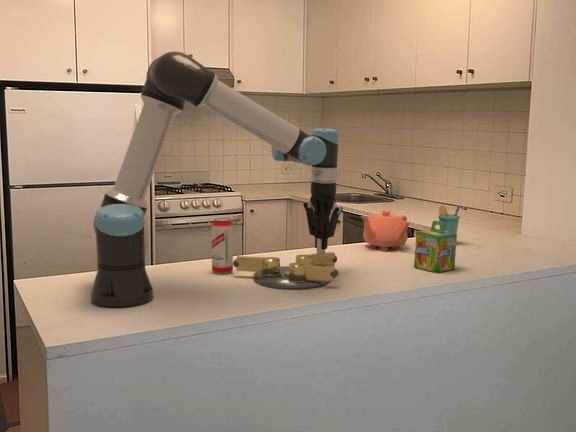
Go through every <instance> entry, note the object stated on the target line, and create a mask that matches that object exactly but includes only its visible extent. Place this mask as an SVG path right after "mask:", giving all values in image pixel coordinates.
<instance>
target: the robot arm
mask: <svg viewBox="0 0 576 432" xmlns="http://www.w3.org/2000/svg"><path fill="white" fill-rule="evenodd" d="M145 78H146V79H145V82H144V84H143V88H142V91H141V94H140V98H141V100H142V103H143V105H142V108H141V110H140V114H139V116H138V119H137V122H136V125H135V128H134V131H133V133H132V136H131V138H130V142H129V144H128V146H127V150H126V153H125V155H124V158H123V161H122V163H121V166H120V170H119V172H118V175H117V178H116V179H115V182H114V185H113V188H111V189H110V190H108V191H106V192H105V194H104V196H103V198H102V202H101V204H100V207H99V208H98V209H97V210H96V212H95V216H94V218H93V231H94V234H95V240H96V262H97V263H96V265H97V266H96V267H97V268H96V269H97V272H96V274H95V276H94V277H95V278H94V281H93V286H92V288H91V292H90V301H91V303H92V304H94V305H96V306H99V307H104V308H105V307H106V308H127V307H135V306H139V305H144V304H147V303H149V302H151V301H152V300H153V298H154V291H153V286H152V283H151V281H150V277H149V275H148V272H147V269H146V247H145V246H146V245H145V242H146V241H145V223H146V219H145V216H146V213H147V209H148V204H147V202H146V196H147V194H148V190H149V188H150V186H151V185H150V184H151V182H152V179H153V176H154V173H155V171H156V168H157V165H158V163H159V161H160V157H161V155H162V151H163V148H164V146H165V143H166V140H167V138H168V134H170V133H169V132H170V129H171V127H172V124H173V121H174V119H175V116H176V115H177V116H178V115H179V114H180V113H183V111H184V108H185V105H186V103H189V104H191V105H193V106H194V107H196V108H201V107H204V108H206V109H207V110H209V111H212V112H213V113H214V114H216V115H218V116H220V117H221V118H223V119H225V120H226V121H228V122H230V123H232V124H233V125H235V126H237V127H239V128H240V129H242V130H244V131H245V132H248V133H249V134H251V135H253V136H255V137H256V138H258V139H259V140H262V141H263V142H265V143H267V144H268V145H271V156H272V158H273V160H274V161H276V162H291V163H298V164H302V165H306V166H308V167H309V166H311V173H310V174H311V175H310V176H311V177H310V178H311V180H312V181H311V183H310V194H311V196H310V197H309V200H308V201H307V202H303V204H302V205H303V208H304V210H305V213H306V214H305V215H306V221H307V225H308V231H309V232H308V233H309V235H310V236H313V237H314V247H315V249H316V254H318V253H326V250H327V249H328V243H329V242H328V239H330V238H333V237H334V236H335V233H336V229H337V226H338V221H339V218H340V214H342V211H343V209H344V208H343V206H339V205H338V204H337V199H336V194H337V183H336V181H337V180H338V179H337V178H338V177H337V176H338V157H339V156H338V155H339V153H338V152H339V146H340V145H339V133H338V131H337V130H336V129H335V128H313V130H312V132H311V134H308V133H307V132H305V131H304V130H301V129H300V128H298V127H297V126H295V125H294V124H292V123H291V122H288V120H287V121H286V120H285V119H284V118H281V117H280V116H279V115H277V114H275V113H273V112H272V111H270V110H269V109H268V108H265V107H263V106H262V105H260V103H259V104H258V103H257V102H256V101H254V100H252V99H250V98H249V97H247V96H245V95H244V94H242V93H240V92H239V91H238V90H235V89H233V88H232V87H231V86H229V85H227V84H225V82H222V81H220V80H219V78H218V76H217V73H215V72H214V71H212V70H210V69H209V68H207V67H205V66H204V65H203V64H202V63H200V62H198V61H197V60H196V59H194V58H193V57H191V56H190V55H188V54H187V53H184V52H181V51H169V52H165V53H164V54H162V55H160V56H158V57H156V58H155V59H154V60H153V61H152V62H151V64H150V65H149V67H148V69H147V71H146V77H145Z"/></svg>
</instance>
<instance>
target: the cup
mask: <svg viewBox="0 0 576 432" xmlns="http://www.w3.org/2000/svg"><path fill="white" fill-rule="evenodd" d="M459 209H462V210H464V211H468V208H467V207H464V206H462V205H459V206H457V207H456V210H455V212H454V214H452V213H451V214H450V213H448V210H447V206H446V205H444V204H441V205H440V206H439V208H438V213H439V215H437V216H438V217H437V218H438V219H439V220H438V221H440V222H445V227H444V231H448V232H453V233H456V234H457V235H458V227H459V220H460V217H461V216H460V215H458V213H459ZM440 228H441V226H440V225H439V229H440Z"/></svg>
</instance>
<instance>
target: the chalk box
mask: <svg viewBox="0 0 576 432" xmlns="http://www.w3.org/2000/svg"><path fill="white" fill-rule="evenodd" d="M437 225H440V226H441V228H440V226H439V228H438V229H437V228H436V226H437ZM444 227H445V222H440V221H439V220H432V224H431V227H430V229H426V230H418V231H416V233H415V245H414V246H415V248H414V259H413V260H414V263H413V268H415V269H420V270H423V271H428V272H431V273H434V274H439V273H443V272H448V271H452V270H455V267H456V266H455V265H456V254H457V252H456V251H457V236H458V233H457V234H456V233H453V232H448V231H444Z"/></svg>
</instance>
